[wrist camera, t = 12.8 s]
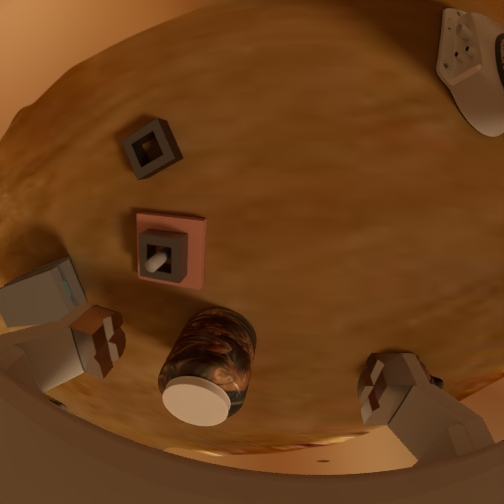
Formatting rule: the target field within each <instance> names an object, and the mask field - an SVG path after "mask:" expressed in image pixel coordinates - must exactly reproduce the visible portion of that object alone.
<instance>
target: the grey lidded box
mask: <svg viewBox="0 0 504 504" xmlns="http://www.w3.org/2000/svg"><path fill="white" fill-rule="evenodd" d="M82 302H88V301H87V298H86V295H85V292H84V290H83V288H82V286H81V283H80V281H79V278H78V276H77V274H76V271H75V269H74V266H73V264H72V261H71V258H70V256H66V257H63V258H61V259H58V260H55V261H53V262H50V263H48V264H45V265H43V266H40V267H38V268H36V269H34V270H32V271H30V272H28V273H26V274H24V275H22V276H20V277H18V278H16V279H14V280H12V281H10V282H8V283H7V284H5V285H4V287H1V288H0V313H1V315H2V317H3V319H4V321H5V323H6V325H7V327H16V326H27V325H37V324H45V323H49V322H53V321H54V322H58V321H59V320H60V319H62V318H63V317H64V316H65V315H66V314H68V313H69V312H70V311H71V310H73V309H74V308H75V307H76V306H78V305H79V304H80V303H82Z"/></svg>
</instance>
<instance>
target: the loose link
mask: <svg viewBox="0 0 504 504" xmlns="http://www.w3.org/2000/svg"><path fill="white" fill-rule="evenodd" d="M155 136H156V139H157V141H158V143H159V146H160V148H161V150H162V153H163V155H162V156H160V157H158V158H157V159H155V160H153V161H152V162H149V160H148V158H147V155H146V153H145V151H144V148H143V146H142V145H143V144H144V143H146V142H147V141H149V140H151V139H152V138H154V137H155ZM122 144H123V146H124V149H125V151H126V153H127V156H128V158H129V161H130V163H131V165H132V168H133V170H134V172H135V175H136V177H137V179H138V180H141V179H146V178H149V177H151V176H153V175H154V174H156V173H158V172H160V171H161V170H163V169H165V168H167V167H168V166H170V165H172V164H174V163H176V162H177V161H179V160H181V159H183V156H182V154H181V152H180V150H179V147H178V145H177V143H176V141H175V138H174V136H173V134H172V132H171V129H170V127H169V125H168V122H167V121H166V120H162V119H159V118H157V119H155V120H153V121H152V122H150V123H149V124H147V125H145V126H144V127H142V128H141V129H139V130H138V131H136V132H135V133H133V134H132V135H130V136H129V137H127V138H126V139H124V140H123V141H122Z"/></svg>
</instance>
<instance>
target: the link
mask: <svg viewBox="0 0 504 504" xmlns="http://www.w3.org/2000/svg"><path fill="white" fill-rule="evenodd" d="M156 245H157V246H164V247H171V248H172V250H171V264H167V263H163V264H162V265H161V266H160V267H159V268H158V269H157V270H156V271H154V272H149V271H147V269H146V268H145V263H146V261H147V260H149V259H150V258H151V257H153V256H154V255H155V254H156ZM187 263H188V233H181V232H173V231H166V230H158V229H150V228H148V229H147V230H145V231H143V232H141V233H139V265H140V276H143V277H148V278H153V279H158V280H163V281H169V282H174V283H181V282H182V280H183V279H184V278H185V277H186V276H187Z"/></svg>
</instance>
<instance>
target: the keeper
mask: <svg viewBox="0 0 504 504" xmlns="http://www.w3.org/2000/svg"><path fill="white" fill-rule="evenodd" d="M206 222H207V219H205V218H196V217H188V216H179V215H170V214H160V213H151V212H139V213H137V261H138V279H143V280H148V281H153V282H158V283H163V284H169V285H174V286H179V287H185V288H190V289H196V290H201V288H202V287H203V278H204V256H205V238H206ZM148 228H150V229H158V230H166V231H173V232H181V233H188V263H187V276H186V277H185V278H184V279H183V280H182V282H181V283H174V282H169V281H163V280H158V279H153V278H148V277H143V276H140V265H139V233H141V232H143V231H145V230H147V229H148ZM171 250H172V248H171V247H164V246H157V245H156V254H155V255H154V256H153V257H151V258H150V259H149V260H147V261H146V263H145V268H146V269H147V271H149V272H154V271H156V270H157V269H158V268H159V267H160V266H161V265H162V264H163V263H167V264H171Z"/></svg>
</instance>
